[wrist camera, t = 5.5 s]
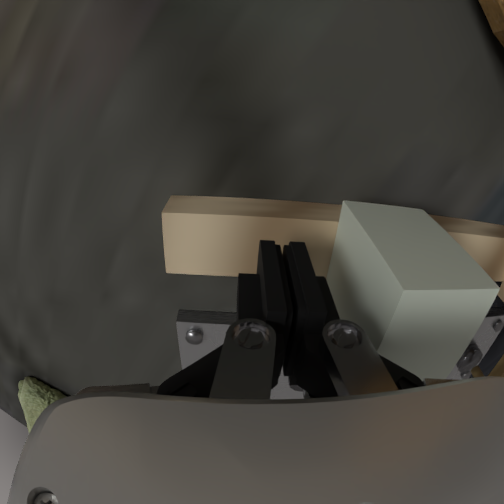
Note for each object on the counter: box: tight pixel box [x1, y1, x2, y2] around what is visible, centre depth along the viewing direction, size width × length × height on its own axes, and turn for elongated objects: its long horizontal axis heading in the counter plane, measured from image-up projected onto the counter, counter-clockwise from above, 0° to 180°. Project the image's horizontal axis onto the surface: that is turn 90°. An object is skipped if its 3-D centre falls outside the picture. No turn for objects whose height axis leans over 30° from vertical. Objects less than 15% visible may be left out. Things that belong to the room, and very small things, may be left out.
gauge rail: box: [162, 195, 504, 378], centre depth 14 cm, size 25×12×8 cm, turn 86°
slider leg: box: [326, 200, 500, 381], centre depth 13 cm, size 4×12×6 cm, turn 176°
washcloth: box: [18, 376, 67, 433], centre depth 27 cm, size 13×18×3 cm
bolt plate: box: [176, 307, 504, 399], centre depth 20 cm, size 25×8×2 cm, turn 86°
